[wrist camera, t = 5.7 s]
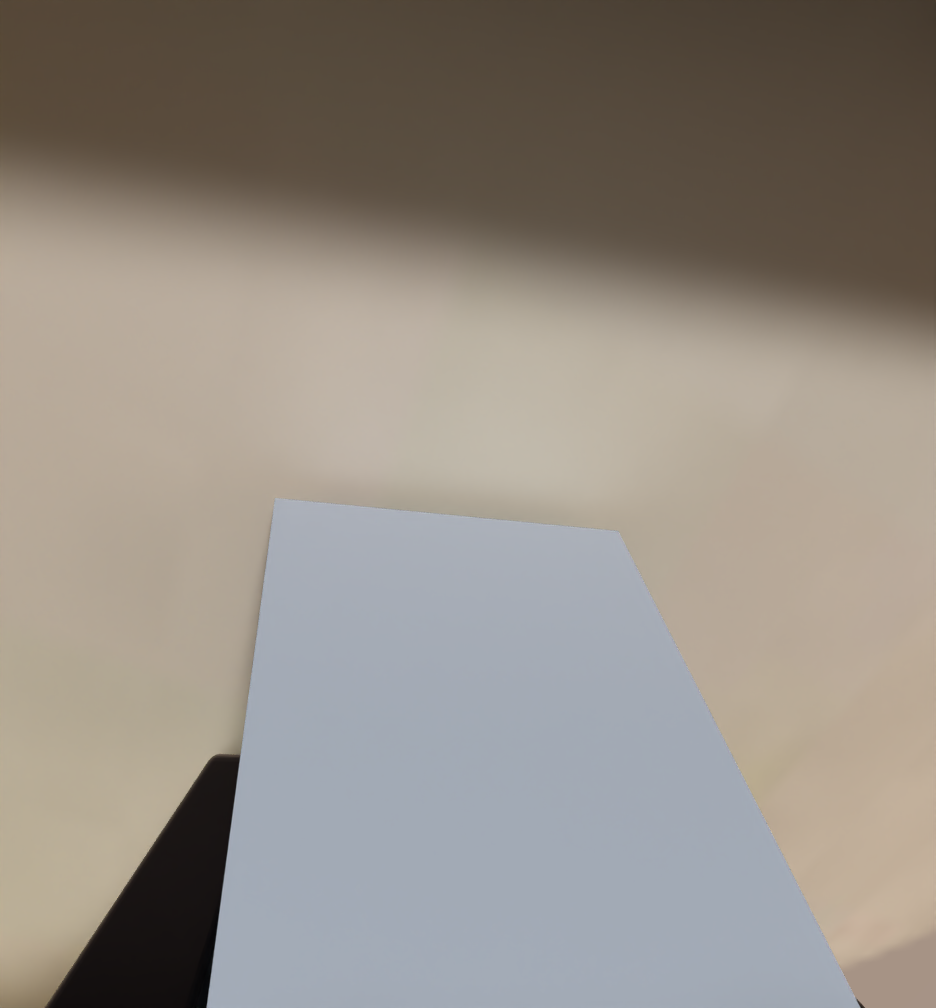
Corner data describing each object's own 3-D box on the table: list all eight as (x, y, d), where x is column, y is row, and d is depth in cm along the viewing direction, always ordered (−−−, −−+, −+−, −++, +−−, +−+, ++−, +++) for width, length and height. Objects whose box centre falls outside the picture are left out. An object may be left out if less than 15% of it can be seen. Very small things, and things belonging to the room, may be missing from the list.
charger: (618, 530, 10) (976, 1238, 4) (520, 810, 12) (661, 1468, 7) (275, 497, 9) (162, 1332, 3) (248, 806, 11) (161, 1553, 6)
